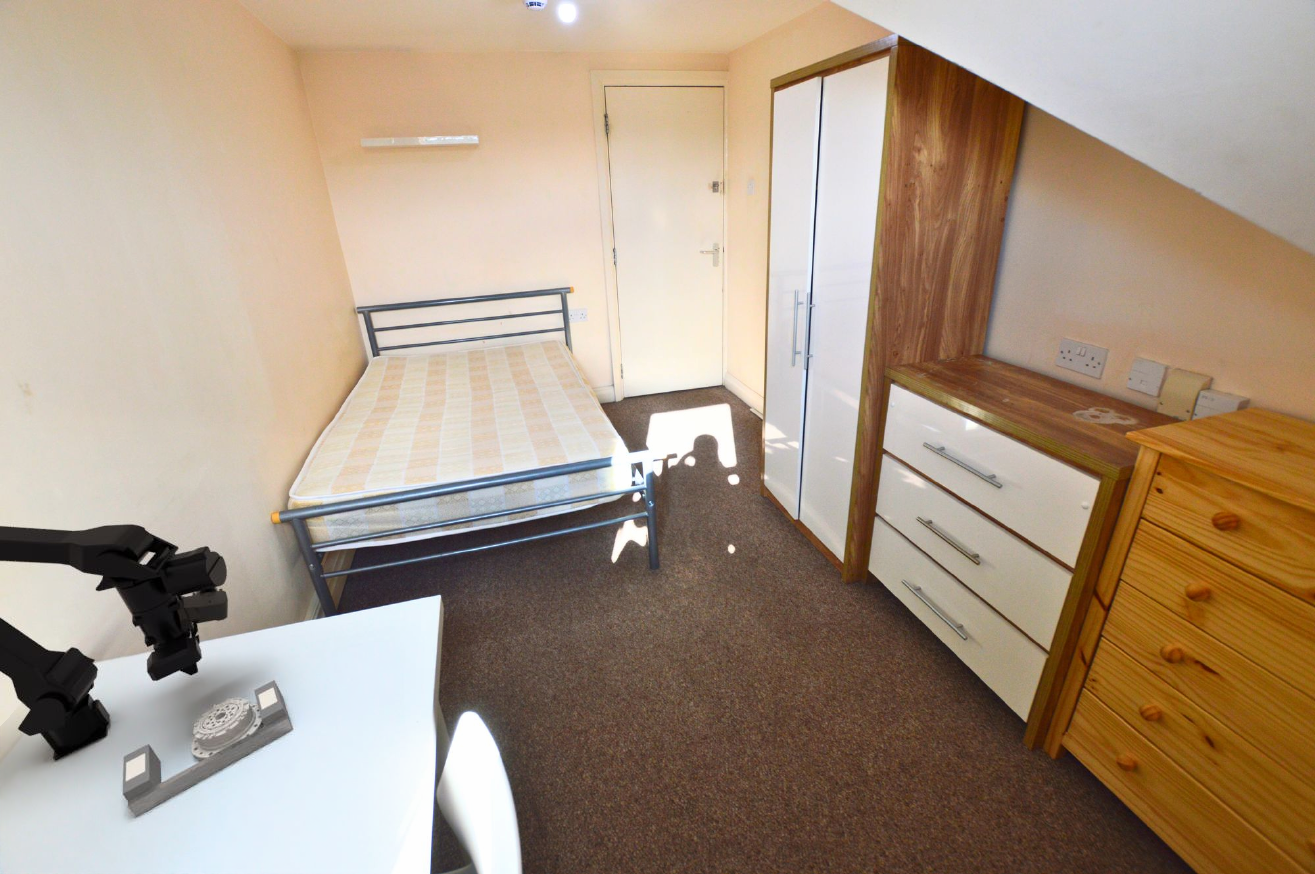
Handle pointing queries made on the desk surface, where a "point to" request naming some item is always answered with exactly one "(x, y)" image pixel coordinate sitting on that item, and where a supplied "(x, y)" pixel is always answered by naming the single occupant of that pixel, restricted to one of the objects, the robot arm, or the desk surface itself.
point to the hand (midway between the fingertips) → (194, 672)
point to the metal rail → (208, 766)
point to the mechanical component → (224, 726)
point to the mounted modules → (146, 766)
